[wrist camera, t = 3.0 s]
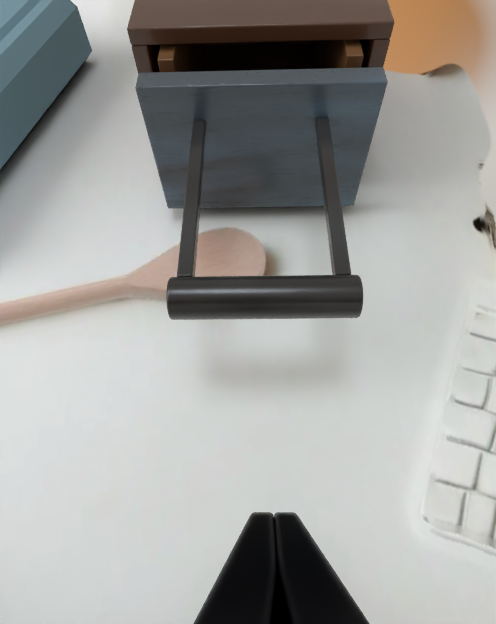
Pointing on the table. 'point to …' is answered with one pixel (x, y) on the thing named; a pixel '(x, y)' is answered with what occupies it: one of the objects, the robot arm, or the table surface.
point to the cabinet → (258, 24)
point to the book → (35, 62)
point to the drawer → (262, 159)
